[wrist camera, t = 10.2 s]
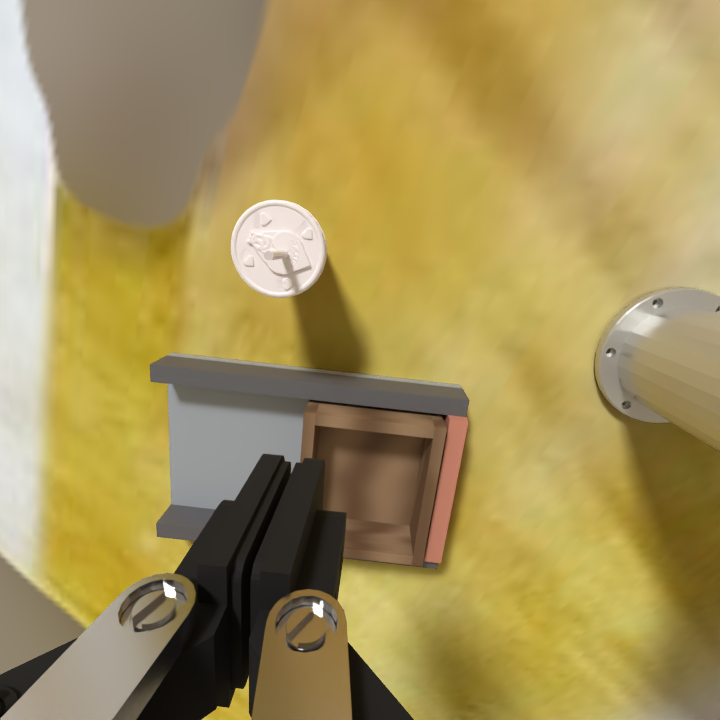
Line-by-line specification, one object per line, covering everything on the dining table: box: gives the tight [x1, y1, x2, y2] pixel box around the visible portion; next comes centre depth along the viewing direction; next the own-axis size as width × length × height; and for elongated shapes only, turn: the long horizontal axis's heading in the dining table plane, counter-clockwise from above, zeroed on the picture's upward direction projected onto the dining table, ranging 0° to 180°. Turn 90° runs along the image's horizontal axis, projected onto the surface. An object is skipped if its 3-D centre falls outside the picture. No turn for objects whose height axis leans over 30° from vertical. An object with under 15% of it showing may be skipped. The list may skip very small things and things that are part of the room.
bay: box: [150, 353, 469, 569], centre depth 39 cm, size 28×18×5 cm, turn 84°
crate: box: [300, 400, 447, 566], centre depth 38 cm, size 12×14×5 cm
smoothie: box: [231, 200, 327, 298], centre depth 29 cm, size 6×6×14 cm
